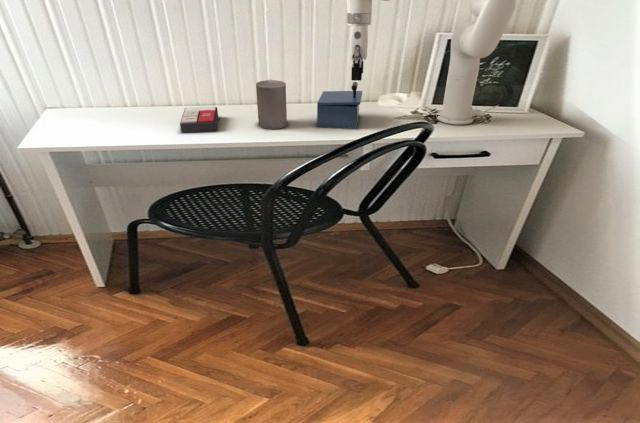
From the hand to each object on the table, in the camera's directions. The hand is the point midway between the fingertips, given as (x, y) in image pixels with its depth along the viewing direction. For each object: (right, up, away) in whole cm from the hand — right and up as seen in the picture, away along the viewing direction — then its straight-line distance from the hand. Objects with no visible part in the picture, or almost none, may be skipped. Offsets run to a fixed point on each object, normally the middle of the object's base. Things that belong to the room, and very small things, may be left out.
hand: (357, 76), depth 133 cm
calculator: (-52, -15, +4) cm, 55 cm away
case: (-6, -13, +8) cm, 16 cm away
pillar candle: (-28, -15, +4) cm, 32 cm away
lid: (-5, -6, +4) cm, 9 cm away
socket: (-6, -12, +8) cm, 15 cm away
